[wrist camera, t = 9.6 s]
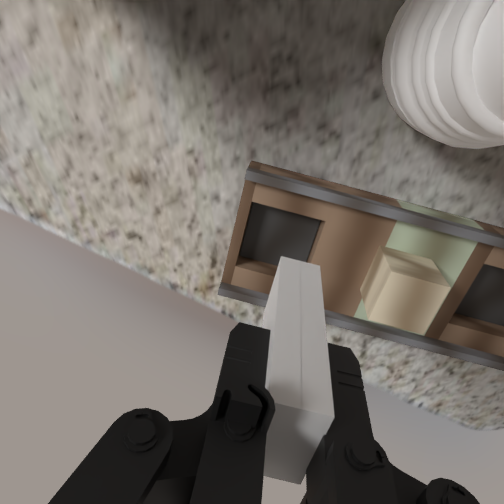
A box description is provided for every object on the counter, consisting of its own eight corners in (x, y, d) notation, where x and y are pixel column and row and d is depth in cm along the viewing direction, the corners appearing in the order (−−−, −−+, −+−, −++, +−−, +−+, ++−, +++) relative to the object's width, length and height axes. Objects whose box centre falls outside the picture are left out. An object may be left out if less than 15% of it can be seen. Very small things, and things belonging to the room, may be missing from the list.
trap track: (224, 276, 41) (217, 294, 38) (251, 160, 35) (246, 170, 32) (498, 349, 41) (515, 373, 38) (570, 246, 36) (598, 264, 32)
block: (359, 289, 37) (367, 319, 33) (379, 245, 35) (391, 271, 31) (408, 302, 37) (423, 334, 33) (431, 259, 35) (451, 287, 31)
